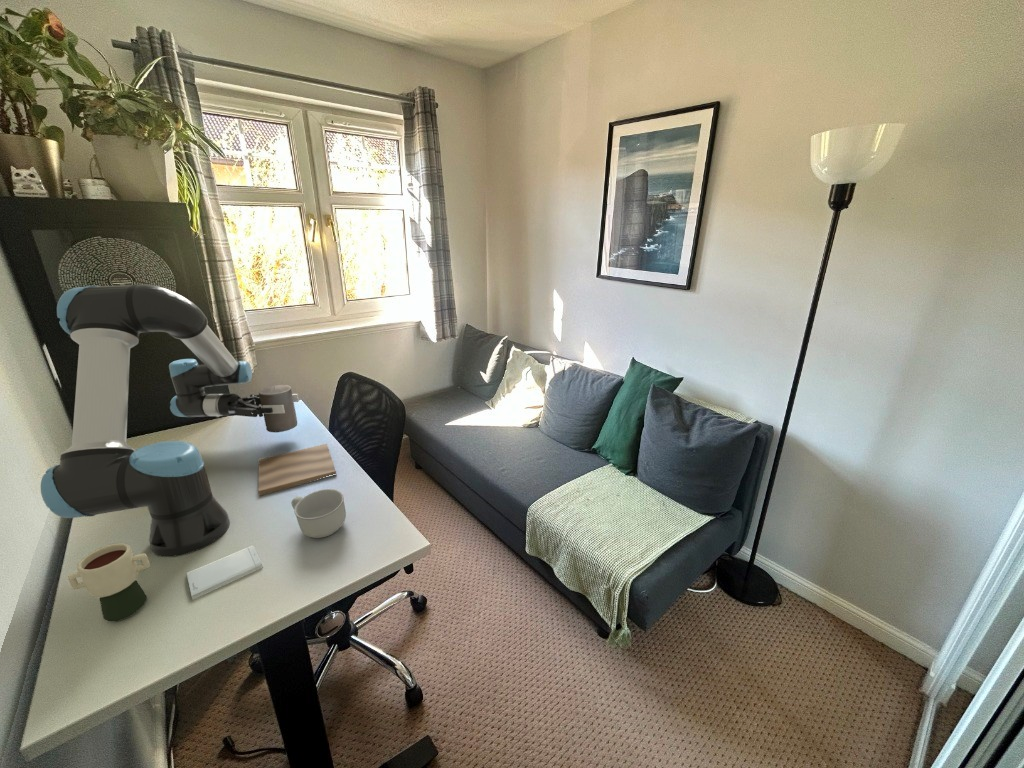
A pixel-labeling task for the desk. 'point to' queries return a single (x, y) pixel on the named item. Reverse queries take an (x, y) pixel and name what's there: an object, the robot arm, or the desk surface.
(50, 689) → the desk surface
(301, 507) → the teacup
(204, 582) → the hard drive
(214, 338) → the robot arm
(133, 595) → the character mug
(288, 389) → the pillar candle
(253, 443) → the desk surface
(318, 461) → the wooden board
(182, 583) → the desk surface
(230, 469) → the desk surface
